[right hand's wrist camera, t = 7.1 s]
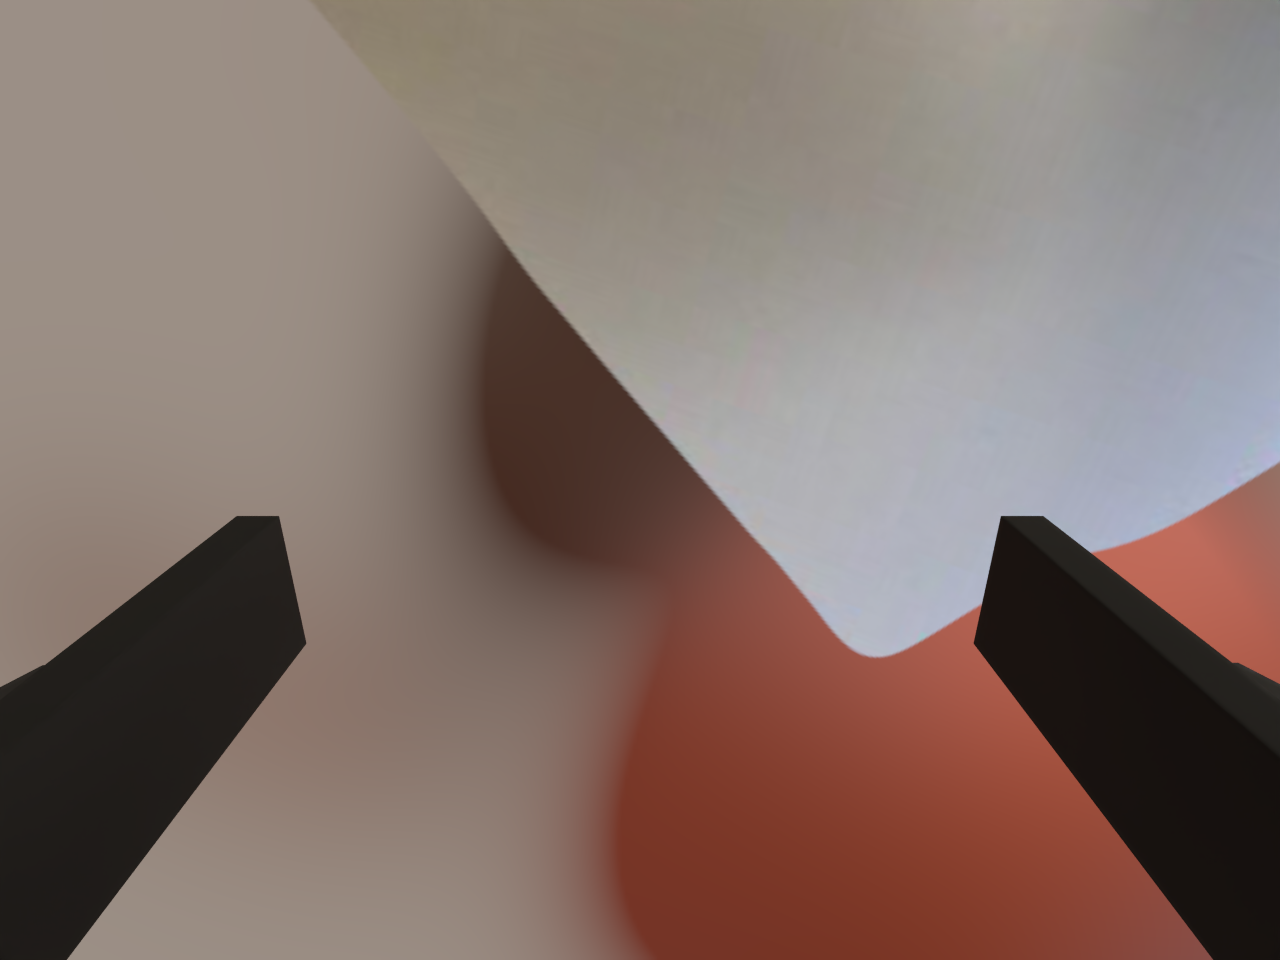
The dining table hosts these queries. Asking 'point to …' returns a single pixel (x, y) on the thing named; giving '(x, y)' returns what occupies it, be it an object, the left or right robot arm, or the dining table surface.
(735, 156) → the dining table surface
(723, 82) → the dining table surface
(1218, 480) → the dining table surface
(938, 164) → the dining table surface
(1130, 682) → the right robot arm
